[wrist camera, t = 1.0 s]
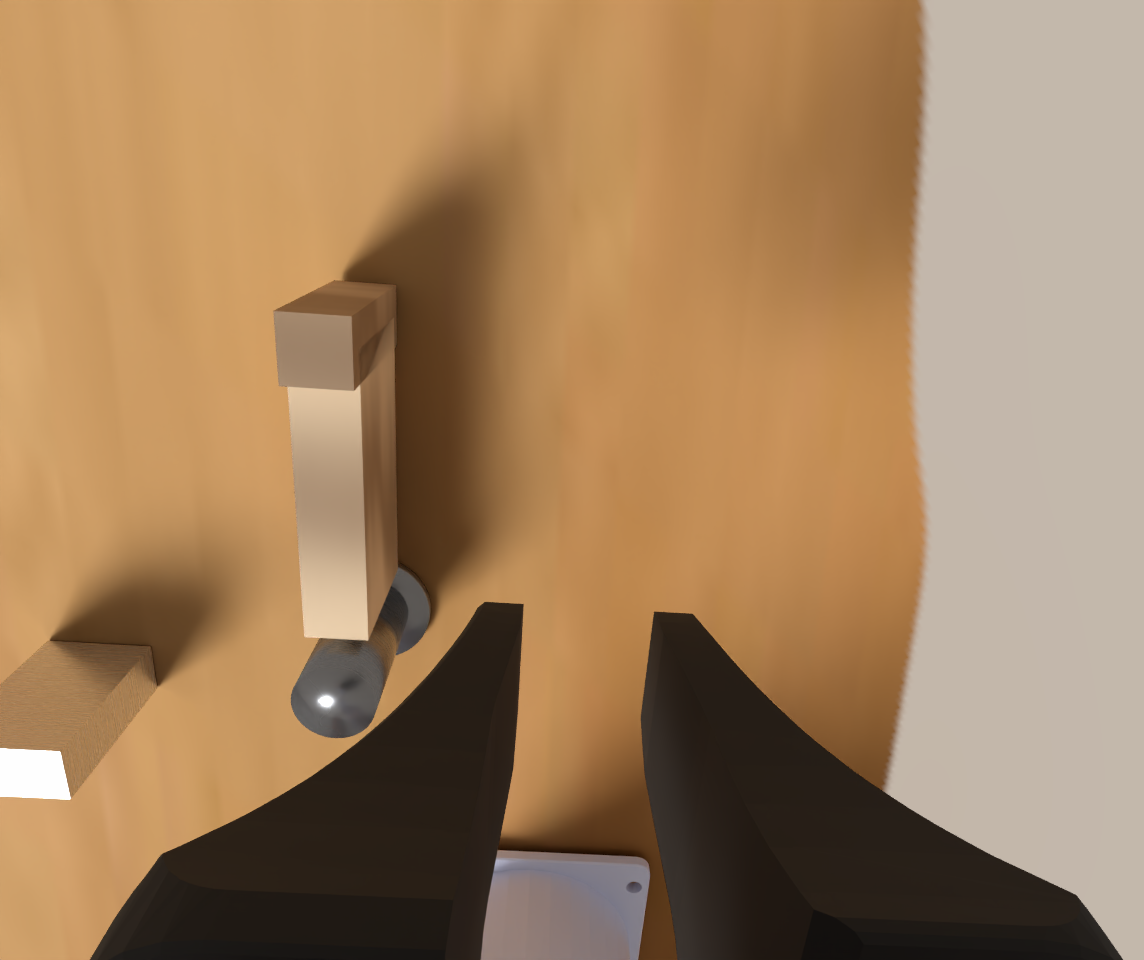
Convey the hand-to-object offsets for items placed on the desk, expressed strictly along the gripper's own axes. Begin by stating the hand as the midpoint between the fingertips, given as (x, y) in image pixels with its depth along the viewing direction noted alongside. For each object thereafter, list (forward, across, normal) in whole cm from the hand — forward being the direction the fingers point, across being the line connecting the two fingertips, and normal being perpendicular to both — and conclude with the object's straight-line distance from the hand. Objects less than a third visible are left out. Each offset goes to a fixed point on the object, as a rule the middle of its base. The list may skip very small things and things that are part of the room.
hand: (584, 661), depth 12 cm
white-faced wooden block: (+9, +14, +8) cm, 18 cm away
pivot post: (+9, +6, +5) cm, 12 cm away
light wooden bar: (+9, +5, 0) cm, 11 cm away
